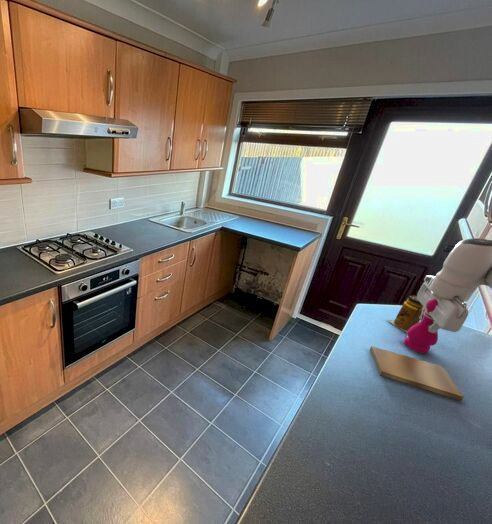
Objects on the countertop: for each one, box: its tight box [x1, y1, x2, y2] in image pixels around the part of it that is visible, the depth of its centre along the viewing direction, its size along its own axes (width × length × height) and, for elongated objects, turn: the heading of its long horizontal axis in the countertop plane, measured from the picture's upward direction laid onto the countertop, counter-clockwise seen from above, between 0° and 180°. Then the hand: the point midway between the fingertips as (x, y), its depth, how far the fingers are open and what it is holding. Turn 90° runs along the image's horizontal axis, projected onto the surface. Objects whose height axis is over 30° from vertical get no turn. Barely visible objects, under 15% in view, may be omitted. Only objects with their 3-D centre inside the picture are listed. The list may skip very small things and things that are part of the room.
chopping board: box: [369, 345, 464, 401], centre depth 83 cm, size 18×12×2 cm, turn 65°
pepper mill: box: [403, 299, 439, 354], centre depth 90 cm, size 7×7×20 cm
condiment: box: [387, 295, 423, 333], centre depth 102 cm, size 7×8×12 cm
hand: (426, 325), depth 91 cm, fingers closed on pepper mill, 5 cm apart
